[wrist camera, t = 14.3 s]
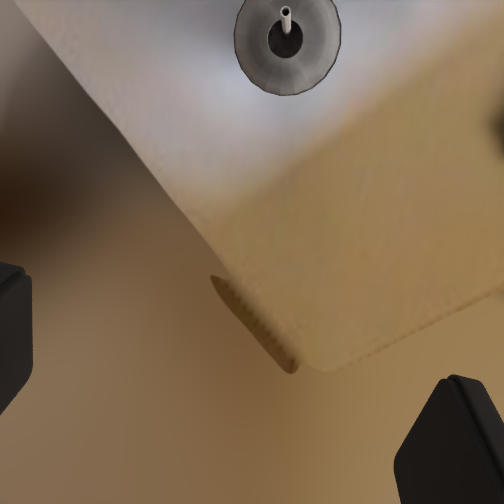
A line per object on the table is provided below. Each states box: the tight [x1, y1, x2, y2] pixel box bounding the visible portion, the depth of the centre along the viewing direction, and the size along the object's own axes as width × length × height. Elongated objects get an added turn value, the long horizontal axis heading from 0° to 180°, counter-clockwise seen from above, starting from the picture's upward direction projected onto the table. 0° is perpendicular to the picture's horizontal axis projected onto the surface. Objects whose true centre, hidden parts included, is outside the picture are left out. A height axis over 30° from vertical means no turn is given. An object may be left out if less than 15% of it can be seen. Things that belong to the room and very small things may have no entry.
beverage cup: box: [234, 0, 341, 96], centre depth 30 cm, size 7×7×20 cm
